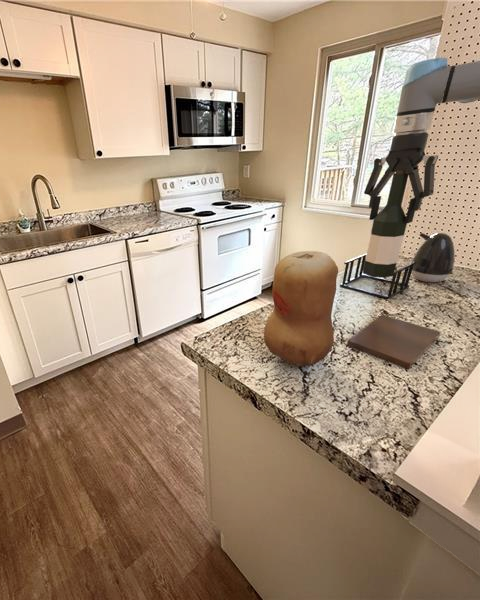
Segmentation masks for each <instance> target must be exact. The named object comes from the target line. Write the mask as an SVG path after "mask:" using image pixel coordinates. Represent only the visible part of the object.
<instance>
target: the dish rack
mask: <svg viewBox="0 0 480 600" xmlns="http://www.w3.org/2000/svg"><path fill="white" fill-rule="evenodd" d="M365 258H366V253H364V254H361V255H358V256H356V257H354V258H351V259H349V260H346V261H344V263H343V264H344V265H345V267H344V273H343V277H342V282H341V283H339V287H340V288H344V289H347V290H349V291H354V292H358V293H361V294H365V295H368V296H372V297H375V298H378V299H383V300H390V299H391V298H393V297H395V296H397V295H398V294H400V293H402V292H404V291H406V290H407V289H410V284H409V282H410V279H411V276H412V269H413V266H414V265H415V264H416V262H412V261H411V262H412V263H411V262H410V263H408V264H407V265H404V266H402V267H400V268H398V269H395V271H394V272H392V275H393V276H391V277H392V278H391V279H387V278H383V277H372V276H369V275H366V274H364V273H363V267H364V263H365ZM355 261H357V264H356V267H355V268H356V269H355V273H354V277H352V274H353V268H354V263H355ZM403 271H404V272H403ZM402 272H403V276H402ZM401 276H402V279H401ZM361 278H367V279H369V280H375V281H379V282H383V283H387V284H390V286H389V289H388V293H387V295H384V294H380V293H377V292H373V291H370V290H366V289H362V288H358V287H355V286H351V285H349V284H350V283H353V282H355V281H357V280H359V279H361ZM400 279H401V281H400ZM398 287H399V288H398Z"/></svg>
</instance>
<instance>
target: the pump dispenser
mask: <svg viewBox="0 0 480 600" xmlns="http://www.w3.org/2000/svg"><path fill="white" fill-rule="evenodd" d="M419 237H420V238H422V239H423V240H425V241H424V242H423V243H422V244H421V245H420V247H419V248H418V249H417V251H416V253H415V254H414V256H413V258H412V259H411V262H410V263H412V262H416V264H415V265H414V266H413V269H412V273H411V276H412V277H413V278H414V279H416V280H417V281H420V282H424V283H438V282H442V281H444V280H445V279H447V278H448V277H449V276H450V275H451V274H452V273H453V271H454V267H455V262H456V261H455V260H456V259H455V258H456V251H455V244H454V241H453V238H452V237H451V236H450V235H449V234H447V233H444V232H438V233H434V234H432V235H427V234H425V233H423V232H421V233H420V234H419Z"/></svg>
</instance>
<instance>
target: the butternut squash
mask: <svg viewBox="0 0 480 600" xmlns="http://www.w3.org/2000/svg"><path fill="white" fill-rule="evenodd" d="M273 272H274V273H273V280H272V291H271V294H272V295H271V296H272V300H273V305H274V307H273V310H272V312H271V314H270V315H269V317H268V318H267V321H266V323H265V325H264V330H263V341H264V344H265V346H266V347H267V349H268V350H269V351H270V352H271V353H272V354H273V355H275V356H277V357H278V358H280V359H281V360H283V361H285V362H286V363H288V364H290V365H296V366H301V367H303V366H306V367H311V366H314V365H316V364H318V363H319V362H321V361H322V360H323V359H325V358H327V356H328V354H330V353H331V352H332V350H333V346H334V342H335V339H334V338H335V331H334V326H333V320H332V314H333V308H334V302H335V297H336V293H337V279H338V275H339V267H338V265H337V264H336V261H334V259H333V257H331V255H329V254H328V253H326V252H322V251H318V250H302V251H301V250H300V251H297V252H292V253H290V254H288V255H286V256H284V257H283V258H281V259H280V260H279V261H278V262H277V263H276V265H275V266H274V271H273Z"/></svg>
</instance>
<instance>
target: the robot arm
mask: <svg viewBox="0 0 480 600" xmlns="http://www.w3.org/2000/svg"><path fill="white" fill-rule="evenodd" d="M448 64H449V63H448V58H447V57H442V56H441V57H436V58H430V59H429V58H428V59H425V60H421V61H417V62H414V63H413V64H411V65H410V66H409V67H408V68H407V69H406V72H405V77H404V80H403V83H402V87H401V92H400V96H399V103H398V107H397V113H396V117H395V121H394V125H393V131H392V133H393V134H394V135H393V136H392V137H391V140H390V145H389V150H388V154H387V155H386V156H385V157H378V158H374V159H373V169H372V171H371V173H370V176H369V179H368V182H367V184H366V187H365V189H364V192H363V193H364V195H368V196H369V203H368V208H369V209H370V214H369V220H370V221H373V220H374V217H375V216H376V215H377V214H378V213H379V211H380V210H379V209H380V204H381V200H382V195H380V193H381V192H382V190H383V189H385V186H386V185H387V184H388V183H389V181H390V180H391V178H393V174H394V173H396V172H397V171H402V172H407V174H408V178H409V182H410V186H411V189H412V194H413V196H414V197H413V198H410V200H409V203H408V207H407V211H406V214H405V216H406V219H405V223H407V224H410V223H413V220H414V217H415V212H417V211H420V209H421V206H422V204H423V203H422V202H423V199H425V198H426V197H427V198H428V197H430V196H433V194H434V193H435V192H434V189H435V170H436V169H435V168H436V164H437V161H438V160H439V155H438V154H437V155H436V154H435V155H429V154H428V155H427V154H426V152H425V149H426V146H427V142H428V138H429V134H430V133H429V132H427V131H429V130H431V127H432V123H433V119H434V115H435V112H436V107H437V105H438V104H445V103H453V102H458V103H459V104H469V103H475V102H476V101H479V100H480V60H476V61H471V62H466V63H461V64H457V65H455V64H454V65H448ZM422 161H423V164H424V173H423V175H424V177H423V184H422V180H421V178H420V174H419V171H420V169H419V166H418V165H419V164H420V163H421V162H422ZM385 164H387V166H388V167H387V168H386V170H385V172H384V174H383V175H382V176H381V178H380V180H379V177H380V175H381V173H382V170H383V166H385ZM378 180H379V181H378ZM369 220H368V221H369Z"/></svg>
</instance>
